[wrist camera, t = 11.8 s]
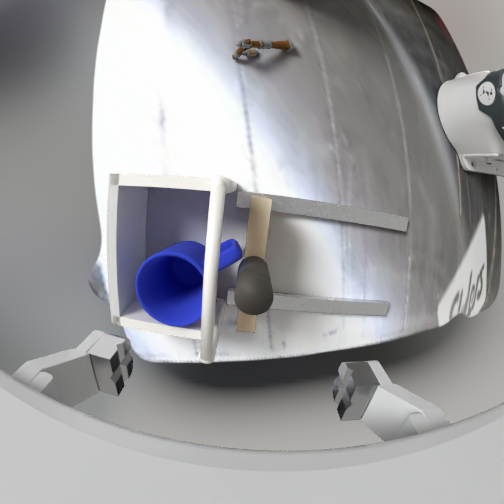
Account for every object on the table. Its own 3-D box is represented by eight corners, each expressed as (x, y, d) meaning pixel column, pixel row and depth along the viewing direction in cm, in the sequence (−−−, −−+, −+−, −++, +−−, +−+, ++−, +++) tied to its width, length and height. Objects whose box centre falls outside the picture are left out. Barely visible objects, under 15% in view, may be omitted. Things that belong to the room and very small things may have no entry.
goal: (237, 180, 34) (229, 176, 20) (225, 309, 38) (213, 368, 24) (141, 174, 33) (86, 170, 20) (138, 296, 37) (95, 344, 24)
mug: (258, 261, 36) (260, 289, 26) (183, 302, 37) (164, 338, 28) (226, 207, 34) (216, 215, 25) (152, 253, 36) (120, 275, 26)
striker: (271, 197, 33) (286, 205, 19) (257, 306, 36) (261, 372, 22) (247, 194, 33) (244, 199, 19) (235, 304, 36) (227, 369, 22)
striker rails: (405, 216, 35) (408, 217, 34) (383, 312, 38) (385, 315, 37) (238, 190, 34) (237, 191, 33) (227, 301, 37) (226, 304, 36)
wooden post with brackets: (224, 53, 29) (236, 35, 24) (275, 51, 31) (291, 36, 27) (228, 63, 29) (241, 45, 25) (279, 61, 32) (295, 46, 28)
